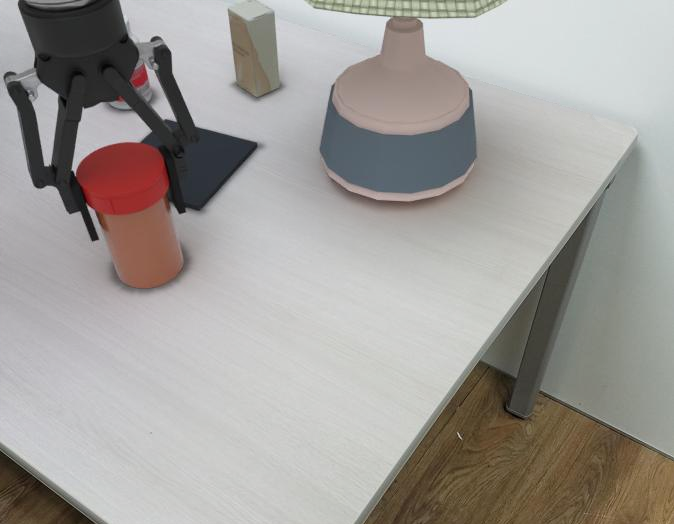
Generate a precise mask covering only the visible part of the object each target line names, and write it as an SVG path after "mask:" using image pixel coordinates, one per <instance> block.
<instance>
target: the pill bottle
mask: <svg viewBox="0 0 674 524" xmlns="http://www.w3.org/2000/svg"><path fill="white" fill-rule="evenodd" d="M123 17H124V20H125V24H126V28H127V32H128V35H129V37H130V38H131V39H132V40H133V42H134V43H141V41H140V39H139V37H138V35H136V34H135V33H134V32H133V31H131V24H130V21H129V18H128V16H127V15H126V14H123ZM146 67H147V66H146V63H145V62H144V60H142V59H139V60H138V63H137V65H136V68H135V70H134V72H133V75H132V77H131V80H130V81H131V82H132V84H133V85H134V86H135V88H136V89H137V90H138V91H139V92H140V93H141V95H142V96H143V97H144V98H145V99H146V100H147V102H148V103H149V102H150V100H151V99H152V95H153V92H152V87H151V83H150V79H149V75H148V71H147V68H146ZM119 99H120V100H117V101H113V102H108V103H109V105H111V106H112V107H114V108H115V109H118V110H133V109H132V108H131V107H130V106H129V105H128V104H127V103H126V102H125V101H124V100H123V99H122V97H121V96H120V97H119Z"/></svg>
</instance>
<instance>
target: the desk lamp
mask: <svg viewBox="0 0 674 524" xmlns="http://www.w3.org/2000/svg"><path fill="white" fill-rule="evenodd" d="M304 1H305V2H306V4H308V5H309V6H310V7H312V8H313V9H315V10H321V11H322V10H323V11H330V12H336V13H344V14H345V13H346V14H352V15H360V16H374V17H384V18H385V17H386V18H389V19H388V20H387V21H386V22H385V28H384V33H383V38H382V43H381V47H380V48H381V50H380V54H377V55H375V56H372V57H369V58H366V59H364V60H361V61H359V62H357V63H355V64H353V65H349V66H347V68H346V69H345V70H344V71H342V72H341V73H340V75H338V77H336V78H335V82H333V84H332V85H331V87H330V91H329V96H328V102H327V106H326V112H325V117H324V122H323V128H322V133H321V138H320V143H319V148H318V150H319V153H320V154H321V155H320V160H321V163H322V165H323V166H324V168H325V171H326V173H327V175H328V177H330V178H331V179H332V180H334V181H335V182H337V183H338V184H339V185H340V186H342V187H343V188H344V189H346V190H347V191H349V192H351V193H355V194H358V195H361V196H364V197H366V198H371V199H373V200H376V201H393V202H413V201H414V202H415V201H419V200H424V199H429V198H434V197H438V196H441V195H443V194H446V193H447V192H449V191H450V190H452V189H453V188H456V187H457V186H459V185H461V184H462V183H464V182H465V180H466V178H467V177H468V176H469V174H470V173H471V171H472V170H473V168H474V167H475V160H476V159H477V158H478V151H477V150H478V149H477V148H478V147H477V131H476V120H475V119H476V118H475V109H474V107H475V106H474V96H473V90H472V88H471V87H470V85H469V83H468V81H467V80H466V78H464V76H463V75H462V74H461V72H460V71H459V70H457V69H455V68H454V67H451V66H450V65H448V64H447V63H444V62H442V61H441V60H437V59H435V58H433V57H431V56H429V55H427V54H426V44H425V43H426V42H425V33H424V22H422V20H421V19H428V20H429V19H431V20H432V19H433V20H434V19H435V20H436V19H437V20H439V19H475V18H478V17H480V16H481V15H484V14H486V13H488V12H489V11H491V10H493V9H495V8H498V7H500V6H501V5H503V4H505V3H506V2H508V1H509V0H304Z"/></svg>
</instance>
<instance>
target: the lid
mask: <svg viewBox="0 0 674 524" xmlns="http://www.w3.org/2000/svg"><path fill="white" fill-rule="evenodd" d="M75 176H76V178H77V181H78V183H79V186H80V188H81V191H82V194H83V196H84V199H85V202H86V205H87V207H89V208H90V209H91V210H93V211H94V210H95V211H97V212H100V213H104V214H109V215H125V214H131V213H135V212H139V211H142V210H144V209H147V208H149V207H151V206H152V205H154V204H156V203H157V202H158V201H159V200H161V199H162V198H163V197H164V195H165V194H166V192H167V190H168V188H169V177H168V173H167V169H166V165H165V161H164V158H163V156H162V154H161V153H160V152H159V151H158V150H157V149H156V148H154V147H152V146H150V145H147V144H143V143H140V142H136V141H135V142H134V141H124V142H117V143H112V144H108V145H105V146H102V147H100V148H98V149H95V150H94V151H92V152H90V153H88V154H87V155H86V156H85V157H84V158H83V159H82V160H81V161H80V162H79V163H78V165H77V168H76V171H75ZM95 211H94V212H95Z"/></svg>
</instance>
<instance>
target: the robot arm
mask: <svg viewBox="0 0 674 524" xmlns="http://www.w3.org/2000/svg"><path fill="white" fill-rule="evenodd" d="M17 7H18V12H19V13H20V16H21V18H22V21H23V24H24V27H25V29H26V32H27V36H28V37H29V38H28V39H29V41H30V43H31V46H32V49H33V53H34V61H33V67H32V68H30V69H27V70H24V71H22V72H20V73H17V72H15V71H12V70H9V71H6V72H4V74H3V77H2V79H3V82H4V85H5V88H6V90H7V93H8V96H9V97H10V99H11V100H12V102H13V104H14V106H15V107H16V112H17V116H18V123H19V128H20V133H21V138H22V145H23V149H24V154H25V155H24V156H25V161H26V166H27V169H28V173H29V176H30V179H31V182H32V185H33V187H34V188H36V189H38V190H41V189H45V188H46V187H53V188H55V189H56V190H57V191H58V193H59V196H60V199H61V201H62V203H63V207H64V208H65V211H66V213H68V214H69V215H72V214H76V213H80V215H81V218H82V220H83V223H84V226H85V229H86V232H87V233H88V235H89V236H88V237H89V239H90V241H91V243H94V242H96V241H100V237H99V234H98V231H97V228H96V227H95V224H94V221H93V217H92V215H91V213H90V210H89V208H88V207H89V206H88V205H87V204H86V202H85V199H84V196H83V194H82V191H81V188H80V186H79V183H78V181H77V178H76V173H75V170H73V163H74V157H75V150H76V145H77V144H76V143H77V137H78V130H79V123H80V122H81V120H82V115H83V110H86V109H91V108H94V107H95V106H98V105H100V104H101V103H109V102H113V101H117V100H120V99H119V97H120V96H121V97H122V99H123V100H124V101H125V102H126V103H127V104H128V105H129V106H130V107H131V108H132V109H131V110H133V111H134V113H135V114H136V115H137V116H138V117H139V118H140V119H141V121H143V122H144V123H145V125H146V126H147V127H148V129H150V130H151V132H152V131H153V133H154V134H155V135H156V136H157V137H158V138H159V139H160V141H161V142H162V143H163V144H164V145H160V146H158V149H159V152H160V153H161V154H162V156H163V158H164V161H165V165H166V169H167V173H168V177H169V192H170V196H171V200H172V202H171V203H173V206H174V208H175V209H176V211H177V213H178V215H183V214H185V213H187V208H186V206H185V204H184V200H183V196H182V192H181V188H180V183H179V181H182V180H185V179H187V177H188V171H187V167H186V163H185V158H184V157H185V156H186V152H185V150H184V149H185V148H186V147H187V146H188V145H190V144H192V145H194V144H197V143H198V142H199V141H200V136H199V133H198V131H197V129H196V127H197V126H196V124H195V121H194V120H193V118H192V115H191V113H190V110H189V107H188V106H187V103H186V101H185V99H184V96H183V94H182V92H181V89H180V88H179V85H178V82H177V80H176V78H175V75H174V73H173V55H172V51H171V49H170V48H169V46H168V45H167V44H166V42H165V41H164V39H163V38H162V37H161V36H160V35H155V36H152V37H151V38H150V40H149V41H143V42H140V43H134V42H133V40H132V39H131V38H130V37H129V35H128V32H127V28H126V24H125V20H124V17H123V15H124V13H123V10H122V5H121V1H120V0H18V1H17ZM139 59H142V60H144V63H145V66H146V67H147V68H148V69H149V70H151V71H153V72H154V75H155V76H156V78H157V81H158V84H159V85H160V87H161V89H162V91H163V94H164V96H165V98H166V101H167V103H168V106H169V107H170V109H171V111H172V113H173V116H174V118H175V120H176V122H178V125H179V127H180V128H178V129H177V130H175V131H174V132H173V131H172V130H171V129H170V128H169V126H168V125H167V124H166V123H165V122H164V120H165V119H163V118H162V117H161V116H160V115H159V114H158V112H157V111H156V110H155V108H154V107H153V106H152V104H150V103H149V101H148V102H147V100H146V99H145V98H144V97H143V96H142V95H141V93H140V92H139V91H138V90H137V89H136V88H135V86H134V85H133V84H132V82H131V81H130V80H131V77H132V75H133V72H134V70H135V68H136V65H137V63H138V60H139ZM40 85H44V86H45V87H46V88H48V89H50V90H51V91H52V92H54V93H55V94H57V95H58V96H57V105H58V106H57V113H56V114H57V115H56V121H55V131H54V138H53V146H52V151H51V153H52V154H51V162H50V163H48V165H45V160H44V154H43V148H42V141H41V136H40V131H39V124H38V118H37V113H36V109H35V107H34V104H33V102H35V101H36V100H37V99H38V97H39V92H38V87H39V86H40Z"/></svg>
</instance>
